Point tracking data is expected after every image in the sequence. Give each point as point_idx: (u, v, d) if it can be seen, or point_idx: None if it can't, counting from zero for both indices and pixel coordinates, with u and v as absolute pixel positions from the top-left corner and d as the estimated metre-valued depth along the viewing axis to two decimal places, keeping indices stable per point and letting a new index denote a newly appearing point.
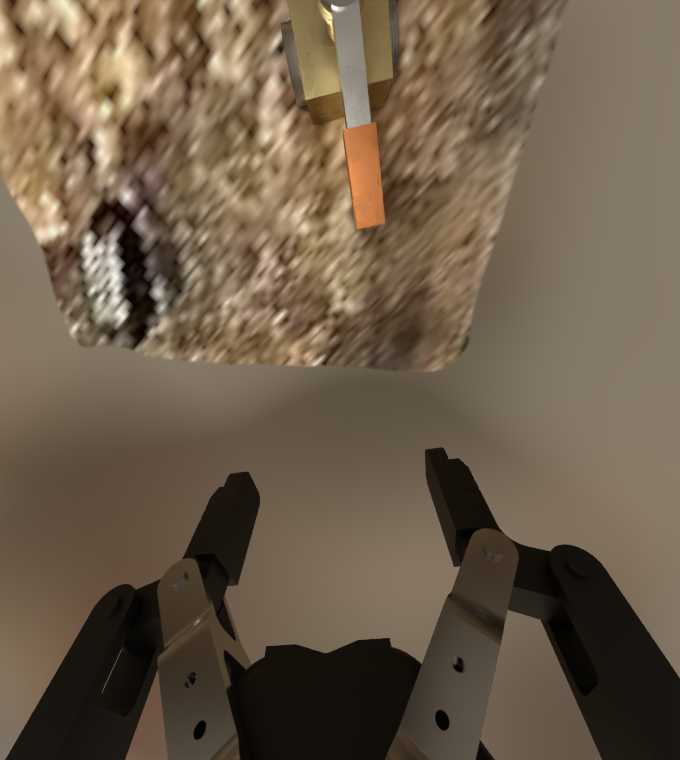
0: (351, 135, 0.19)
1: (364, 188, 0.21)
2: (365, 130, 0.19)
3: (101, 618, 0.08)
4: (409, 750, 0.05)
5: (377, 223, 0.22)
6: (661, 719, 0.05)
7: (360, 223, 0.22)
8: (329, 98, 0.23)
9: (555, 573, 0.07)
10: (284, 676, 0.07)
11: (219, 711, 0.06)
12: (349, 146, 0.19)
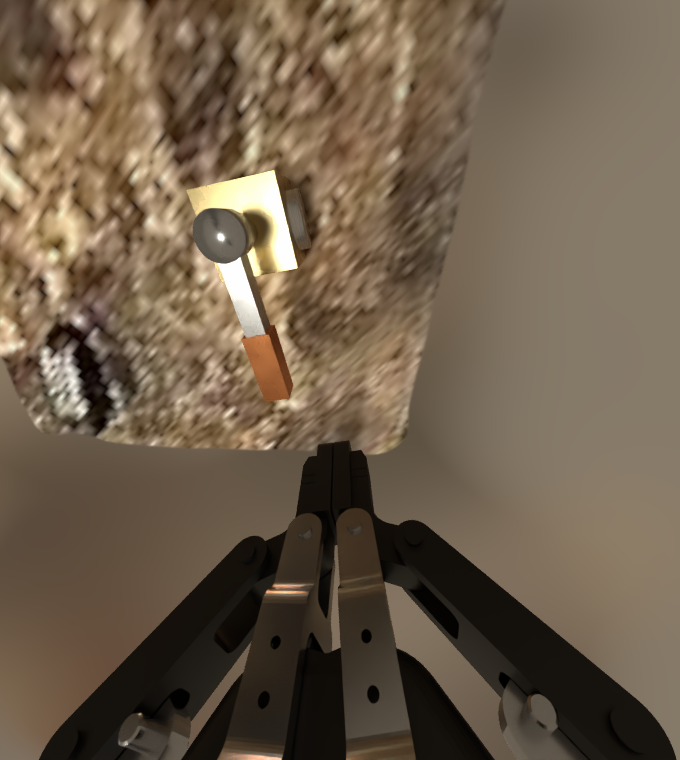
0: (249, 342, 0.22)
1: (267, 376, 0.23)
2: (260, 339, 0.22)
3: (238, 560, 0.09)
4: (361, 751, 0.05)
5: (282, 398, 0.25)
6: (494, 619, 0.07)
7: (267, 397, 0.25)
8: None
9: (403, 554, 0.08)
10: None
11: (282, 702, 0.06)
12: (248, 349, 0.22)
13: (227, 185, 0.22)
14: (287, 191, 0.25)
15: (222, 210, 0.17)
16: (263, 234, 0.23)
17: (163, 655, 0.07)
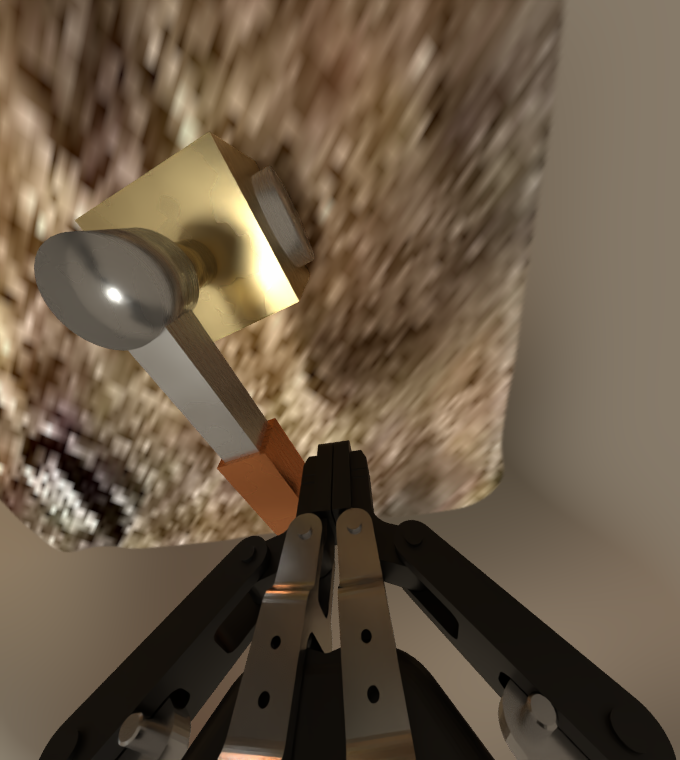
0: (232, 471, 0.12)
1: (279, 512, 0.13)
2: (252, 463, 0.11)
3: (238, 559, 0.09)
4: (361, 751, 0.05)
5: None
6: (494, 619, 0.07)
7: None
8: None
9: (403, 554, 0.08)
10: None
11: (282, 701, 0.06)
12: (235, 480, 0.12)
13: (137, 189, 0.11)
14: (253, 175, 0.14)
15: (85, 233, 0.07)
16: (226, 260, 0.13)
17: (163, 655, 0.07)
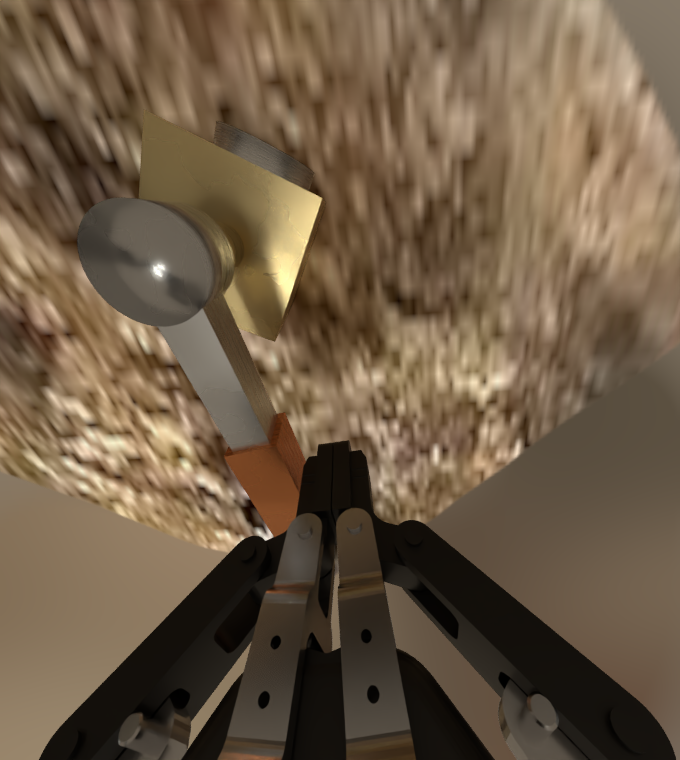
0: (239, 461, 0.11)
1: (277, 507, 0.13)
2: (261, 455, 0.11)
3: (238, 559, 0.09)
4: (361, 751, 0.05)
5: None
6: (494, 619, 0.07)
7: None
8: (288, 303, 0.15)
9: (403, 555, 0.08)
10: None
11: (282, 702, 0.06)
12: (240, 470, 0.12)
13: None
14: (213, 143, 0.14)
15: (143, 202, 0.07)
16: (238, 218, 0.12)
17: (163, 655, 0.07)
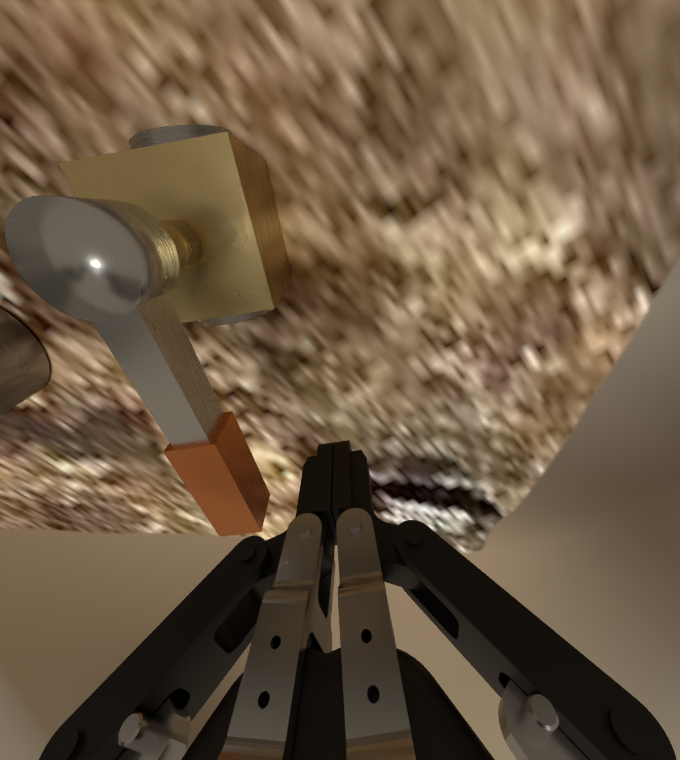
0: (179, 457, 0.12)
1: (218, 503, 0.13)
2: (200, 452, 0.11)
3: (238, 560, 0.09)
4: (361, 751, 0.05)
5: (249, 531, 0.14)
6: (494, 619, 0.07)
7: (222, 531, 0.14)
8: (267, 266, 0.14)
9: (403, 555, 0.08)
10: None
11: (282, 702, 0.06)
12: (180, 466, 0.12)
13: None
14: None
15: (70, 202, 0.07)
16: (176, 207, 0.12)
17: (163, 655, 0.07)
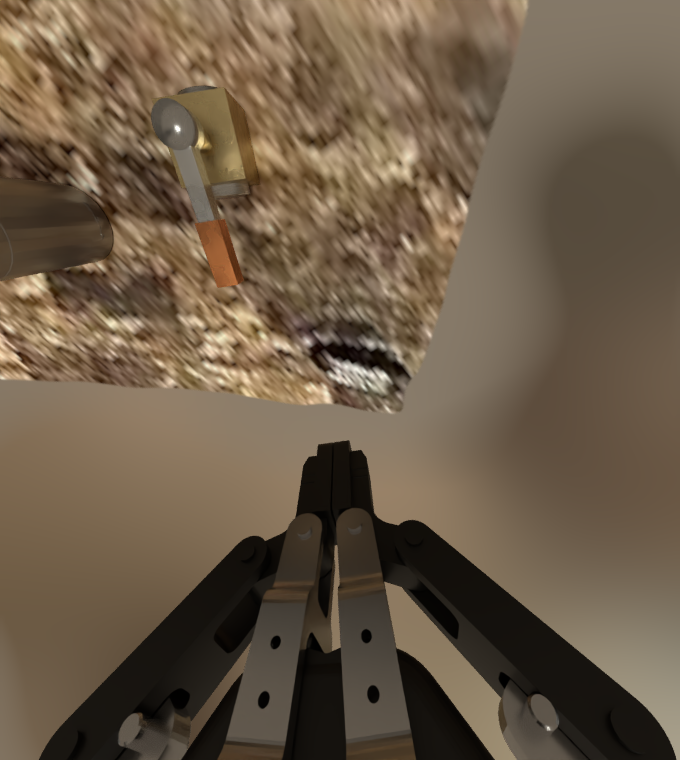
0: (201, 227, 0.27)
1: (217, 261, 0.29)
2: (210, 224, 0.27)
3: (238, 560, 0.09)
4: (361, 751, 0.05)
5: (232, 284, 0.30)
6: (494, 619, 0.07)
7: (219, 283, 0.30)
8: (242, 157, 0.30)
9: (403, 554, 0.08)
10: None
11: (282, 701, 0.06)
12: (201, 234, 0.27)
13: (171, 149, 0.28)
14: None
15: (174, 100, 0.22)
16: (200, 122, 0.28)
17: (163, 655, 0.07)
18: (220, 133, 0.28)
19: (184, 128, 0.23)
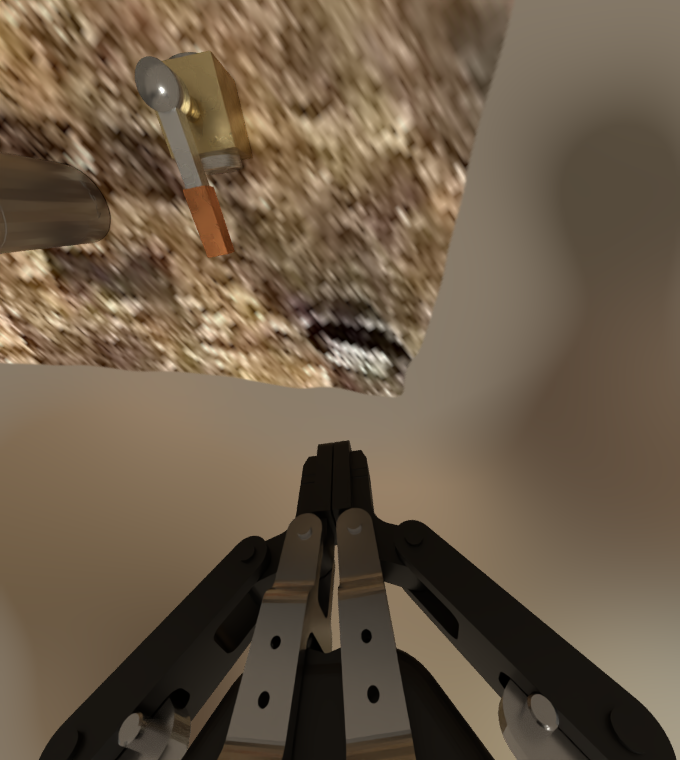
0: (189, 193, 0.27)
1: (206, 229, 0.28)
2: (198, 190, 0.27)
3: (238, 559, 0.09)
4: (361, 751, 0.05)
5: (222, 253, 0.29)
6: (494, 619, 0.07)
7: (209, 253, 0.29)
8: (232, 125, 0.29)
9: (403, 555, 0.08)
10: None
11: (282, 701, 0.06)
12: (189, 200, 0.27)
13: None
14: None
15: (157, 59, 0.22)
16: (188, 88, 0.27)
17: (163, 655, 0.07)
18: (208, 99, 0.28)
19: (168, 88, 0.23)
